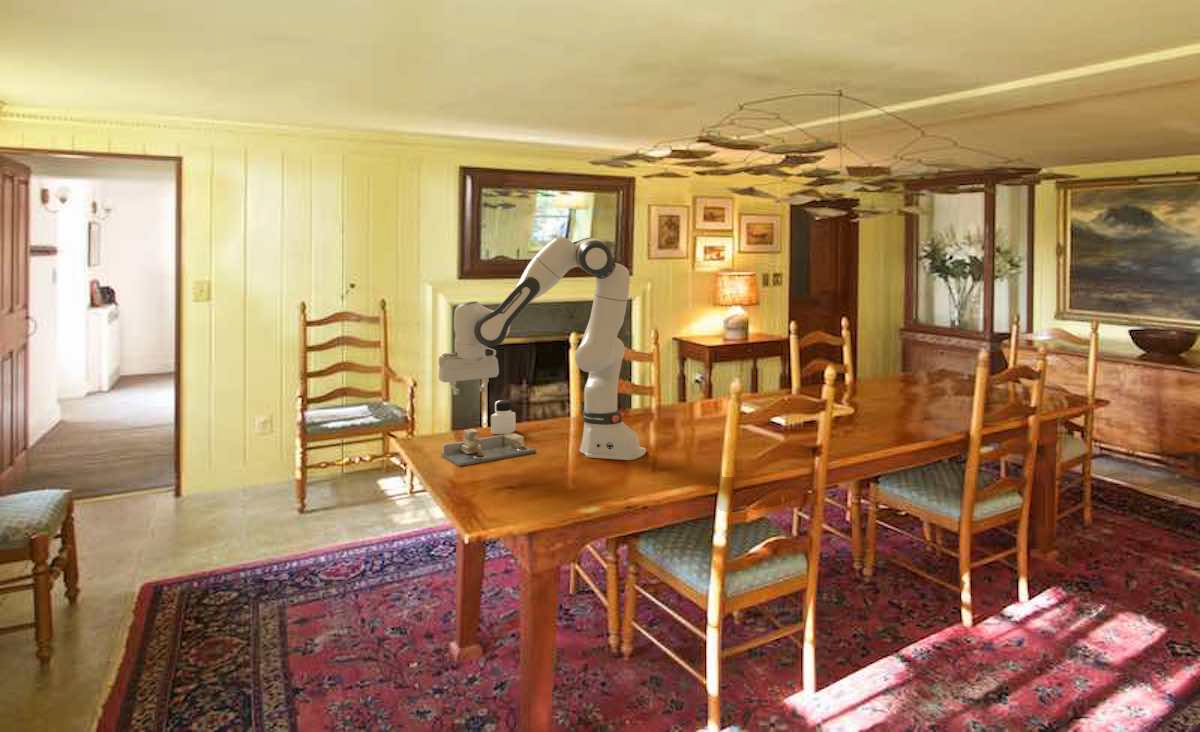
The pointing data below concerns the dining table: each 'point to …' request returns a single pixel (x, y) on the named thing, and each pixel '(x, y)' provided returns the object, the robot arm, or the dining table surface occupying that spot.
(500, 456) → the divider plate
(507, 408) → the medicine bottle
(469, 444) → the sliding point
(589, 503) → the dining table surface
